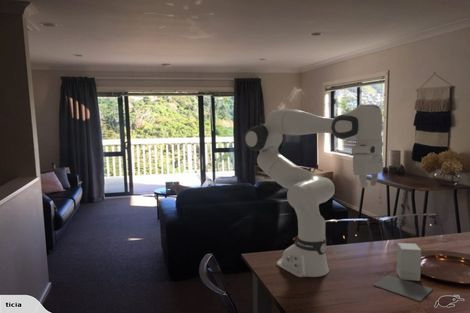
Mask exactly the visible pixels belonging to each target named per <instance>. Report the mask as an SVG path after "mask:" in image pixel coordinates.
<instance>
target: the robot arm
mask: <svg viewBox="0 0 470 313" xmlns="http://www.w3.org/2000/svg"><path fill="white" fill-rule="evenodd" d="M383 125H384V124H383V113H382V109H381V107H380V106H378V105H376V104H372V103H371V104H370V103H360V104H359V105H357V106H356V107H355V108H353V109H352V110H350V111H347V112H345V113H342V114H339V115H337V116H336V117H335V118H333V117H332V118H330V117H326V116H325V117H324V116H319V115H316V114H313V113H310V112H306V111H304V110H300V109H295V108H294V109H293V108H279V109H274V110H271V111H269V113H268V114H267V116H266V121H265V123H258V124H257V125H255V126H253V127H250V128H249V129H247V131H246V132H245V134H244V144H245V145H246V147H247V148H248V149H249V150H252V151H255V152H258V151H259V154H258V155H257V158H256V163H257V165H258V167H259V168H260V169H261V170H262V171H263V173H265V175H266V176H268V177H269V178H270V179H272V180H273V181H274V182H276V183H277V184H278V185H280V186H281V187H282V188H284V189H287V193H286V199H287V202H288V204H289V205H290V206H291V207H292V208H293V209H294V211H295V214H296V217H297V228H298V229H297V230H298V231H297V233H298V235H296V236H295V237H293V238H292V241H294V243H293V244H292V245H290V246H289V247H287V248H285V250H284V251H283V253H282V257H281V258H280V259H278V261H276V266H278V267H280V268H281V269H283V270H285V271H287V272H288V273H291V274H292V275H294V276H296V277H297V278H298V277H299V278H303V277H305V278H306V277H308V278H309V277H310V278H318V277H323V276H325V275H326V276H327V275H328V274H329V272H330V269H329V266H328V261H327V255H326V251H327V237H326V221H325V218H324V217H323V215H321V212H320V207H319V206H320V204H323V203H326V202H328V200H330V199H331V198H332V197H333V196H334V195H335V190H336V189H335V188H336V187H335V184H334V183H333V181H332V180H331V179H329V178H328V177H324V176H320V175H317V174H316V173H313V172H311V171H308V170H306V169H305V168H302V167H300V166H298V165H297V164H295V163H294V162H293V161H291V160H290V159H288V158H287V157H285V156H283V155H282V154H281V151H282V150H283V149H284V148H283V147H284V145H285V143H286V138H287V137H286V135H287V136H305V135H312V134H332V135H333V136H334V137H335V138H336V139H340V140H343V141H344V140H345V141H356V144H354V145H353V146H352V147H351V154H353V155H352V170H353V171H352V172H353V174H354V175H355V176H359V177H358V178H359V181H360V187H361V188H362V189H366V188H368V182H367V176H369V175H370V176H371V180H370V186H373V187H374V186H377V185H378V179H379V174H381V173H383V172H384V160H383V158H384V157H383V137H382V131H383Z"/></svg>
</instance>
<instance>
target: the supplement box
mask: <svg viewBox="0 0 470 313" xmlns="http://www.w3.org/2000/svg"><path fill="white" fill-rule="evenodd" d="M396 244H397V245H396V246H397V247H396V274H397V275H398V278H400V279H403V280H406V281H417V282H420V281H421V271H422V270H421V269H422V268H421V267H422V249H421V248H420V247H419V245H418V244H417V243H412V242H411V243H409V242H408V243H407V242H406V243H405V242H397V243H396Z"/></svg>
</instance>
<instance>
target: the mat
mask: <svg viewBox="0 0 470 313" xmlns="http://www.w3.org/2000/svg"><path fill="white" fill-rule="evenodd" d="M373 286H374V287H377V288H379V289H382V290H385V291H388V292H391V293H394V294H397V295H400V296H402V297H405V298H408V299H411V300H414V301H417V302H419V303H421V302H422V301H423V300H424V299H426V298H427V296H428V295H429V294H430V293H431V292H432V291H433V290H434V289H433V288H431V287H428V286H425V285H421V284H419V283H415V282H412V281H410V280H403V279H400V277H397V276H393V275H390V274H387V275H385V276H384V277H382V278H381V279H379V280H378V281H377V282H375V283H374V284H373Z"/></svg>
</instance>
